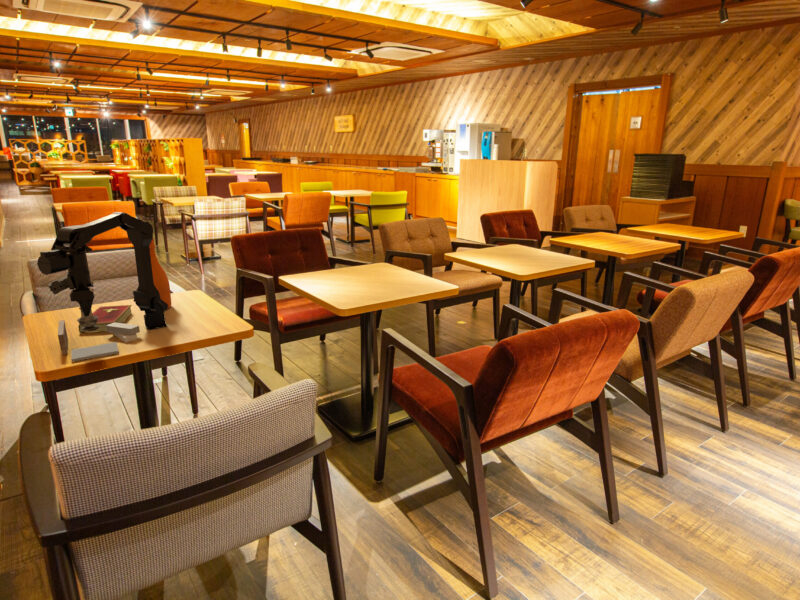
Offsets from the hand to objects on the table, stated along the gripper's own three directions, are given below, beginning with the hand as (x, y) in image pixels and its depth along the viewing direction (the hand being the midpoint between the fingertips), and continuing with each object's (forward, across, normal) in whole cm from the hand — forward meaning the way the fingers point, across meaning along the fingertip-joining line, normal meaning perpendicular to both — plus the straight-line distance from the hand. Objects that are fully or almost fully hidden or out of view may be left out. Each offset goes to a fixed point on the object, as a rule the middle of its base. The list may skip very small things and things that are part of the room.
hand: (87, 314), depth 160 cm
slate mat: (+13, +2, 0) cm, 13 cm away
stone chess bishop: (+5, 0, 0) cm, 5 cm away
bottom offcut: (+14, -10, +10) cm, 19 cm away
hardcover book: (+14, -30, +5) cm, 33 cm away
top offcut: (+11, -10, +10) cm, 18 cm away
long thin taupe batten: (+13, -10, -8) cm, 18 cm away
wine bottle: (+13, -39, +24) cm, 48 cm away
